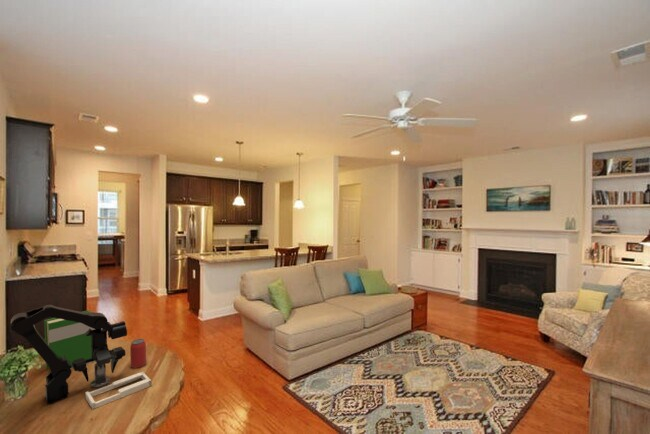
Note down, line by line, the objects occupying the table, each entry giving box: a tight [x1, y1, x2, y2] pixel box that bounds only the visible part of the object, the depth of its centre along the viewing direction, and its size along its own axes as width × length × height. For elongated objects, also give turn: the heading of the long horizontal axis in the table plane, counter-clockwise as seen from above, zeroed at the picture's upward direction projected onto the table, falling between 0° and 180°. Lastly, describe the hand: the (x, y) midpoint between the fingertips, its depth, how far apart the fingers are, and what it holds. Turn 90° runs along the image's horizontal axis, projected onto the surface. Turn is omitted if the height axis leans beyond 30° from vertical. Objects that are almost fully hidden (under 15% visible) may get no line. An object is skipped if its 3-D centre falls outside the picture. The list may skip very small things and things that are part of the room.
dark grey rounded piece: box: [90, 363, 111, 389], centre depth 142 cm, size 7×7×9 cm
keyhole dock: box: [85, 371, 152, 410], centre depth 136 cm, size 22×11×2 cm, turn 138°
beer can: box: [129, 338, 147, 369], centre depth 158 cm, size 7×7×12 cm
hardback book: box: [43, 310, 94, 373], centre depth 158 cm, size 18×7×24 cm, turn 142°
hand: (100, 376), depth 142 cm, fingers open, 9 cm apart
